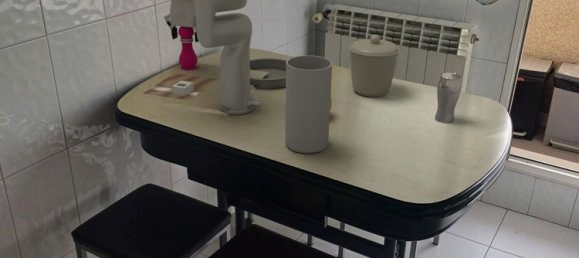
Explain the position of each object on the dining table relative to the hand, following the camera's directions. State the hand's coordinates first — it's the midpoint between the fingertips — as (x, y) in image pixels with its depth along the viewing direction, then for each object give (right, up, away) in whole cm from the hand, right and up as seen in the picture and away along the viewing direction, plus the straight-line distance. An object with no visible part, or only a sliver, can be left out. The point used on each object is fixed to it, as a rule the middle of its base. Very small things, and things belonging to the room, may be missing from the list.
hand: (186, 39), depth 208 cm
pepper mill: (0, -12, +5) cm, 13 cm away
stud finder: (+3, -22, -19) cm, 29 cm away
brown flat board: (+1, -20, -13) cm, 24 cm away
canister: (+69, -21, -12) cm, 74 cm away
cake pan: (+31, -15, -1) cm, 35 cm away
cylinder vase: (+45, -39, -51) cm, 78 cm away
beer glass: (+90, -31, -33) cm, 101 cm away
